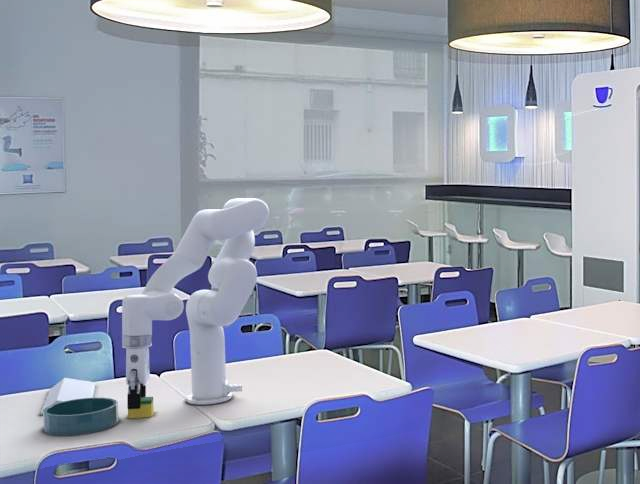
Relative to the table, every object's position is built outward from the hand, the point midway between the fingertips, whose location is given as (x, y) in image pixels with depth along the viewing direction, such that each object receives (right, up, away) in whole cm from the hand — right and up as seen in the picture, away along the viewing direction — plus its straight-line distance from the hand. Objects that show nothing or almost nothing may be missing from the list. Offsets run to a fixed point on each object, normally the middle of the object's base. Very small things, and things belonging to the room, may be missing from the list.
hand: (136, 404), depth 236 cm
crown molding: (-27, -3, +19) cm, 33 cm away
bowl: (-12, -4, -7) cm, 14 cm away
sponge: (+1, -3, +1) cm, 4 cm away
